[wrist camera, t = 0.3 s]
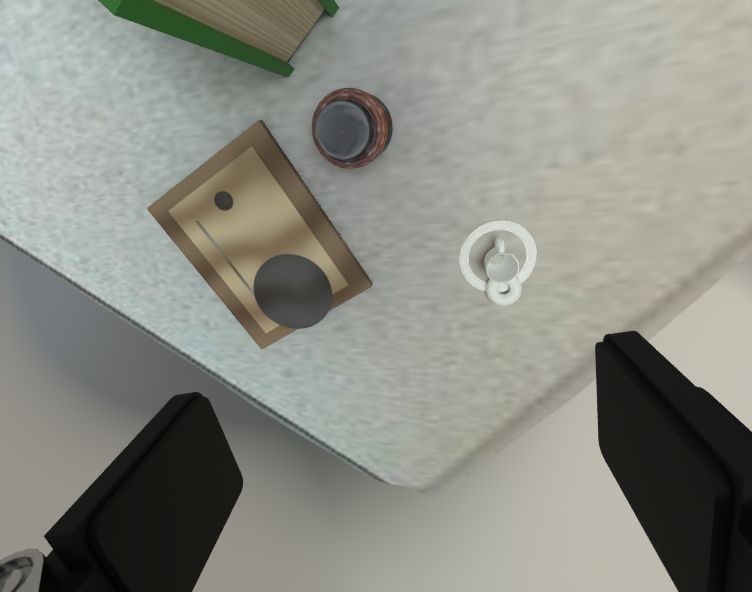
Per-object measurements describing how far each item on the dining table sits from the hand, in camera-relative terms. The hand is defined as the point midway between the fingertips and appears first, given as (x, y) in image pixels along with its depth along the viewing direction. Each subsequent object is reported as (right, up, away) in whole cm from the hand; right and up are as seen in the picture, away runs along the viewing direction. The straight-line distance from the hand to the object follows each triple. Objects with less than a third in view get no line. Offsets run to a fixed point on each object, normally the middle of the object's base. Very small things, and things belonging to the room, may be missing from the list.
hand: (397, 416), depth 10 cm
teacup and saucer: (+10, +5, +35) cm, 37 cm away
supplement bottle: (-2, +19, +30) cm, 36 cm away
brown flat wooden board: (-13, +8, +36) cm, 39 cm away
